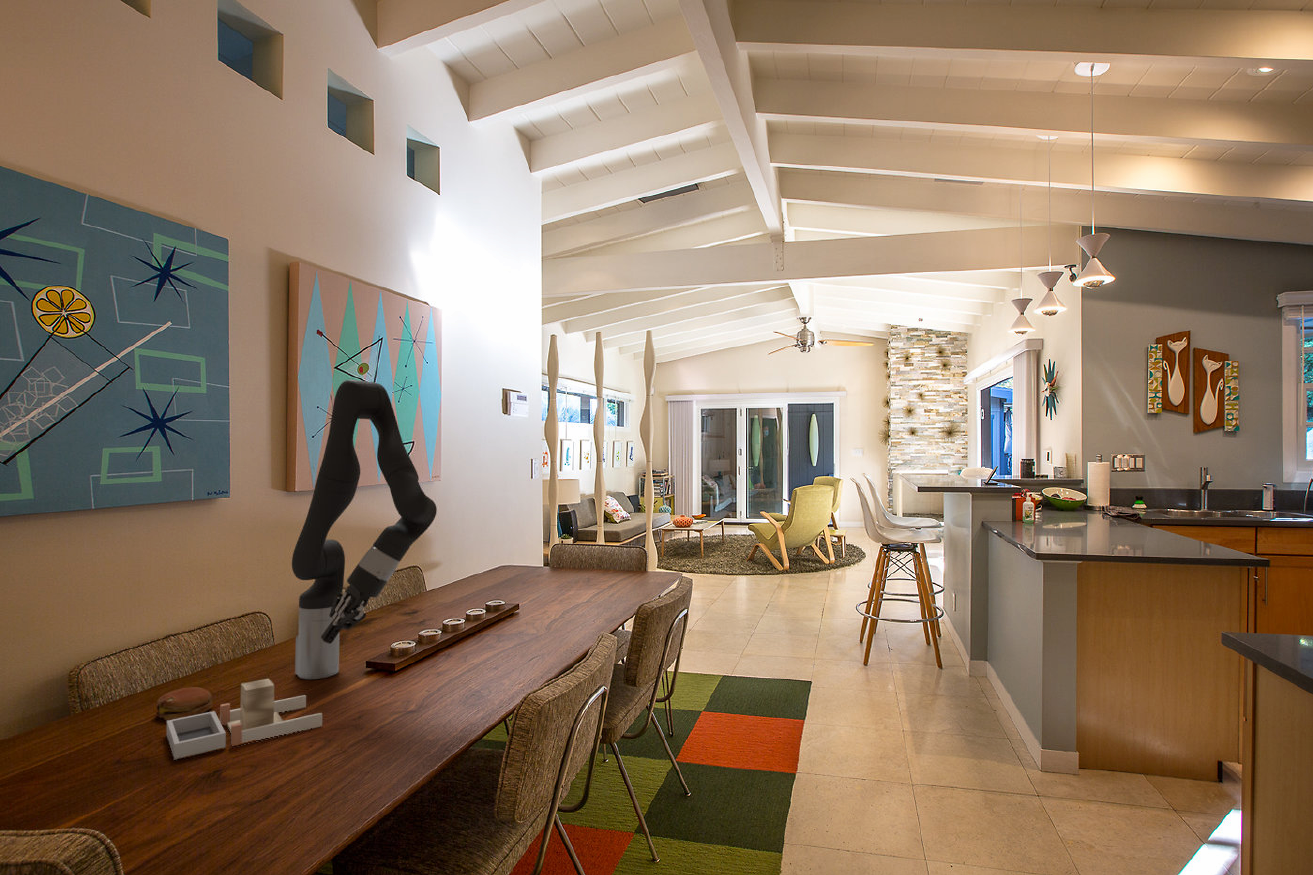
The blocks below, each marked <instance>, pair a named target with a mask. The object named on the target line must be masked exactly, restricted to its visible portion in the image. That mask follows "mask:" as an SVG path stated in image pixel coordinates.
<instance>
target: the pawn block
mask: <svg viewBox="0 0 1313 875" xmlns="http://www.w3.org/2000/svg"><path fill="white" fill-rule="evenodd" d="M274 701H275V684H274V683H273V681H272V680H270V679H269V678H265V679H258V680H253V681H248V682H242V683H240V708H241V711H240V720H237V721H232V722H228V723H227V725H226V728H227V727H228V729H229V731H230V732H229V731H228V732H229V734H230V733H231V725H232V724H236V723H241V724H242V730H246V729H250V728H255V727H259V726H264V725H268V724H273V723H277V722H282V721H284V719H283V718H282V717H281V716H280V713H277V712H274ZM228 729H227V730H228Z"/></svg>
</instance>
